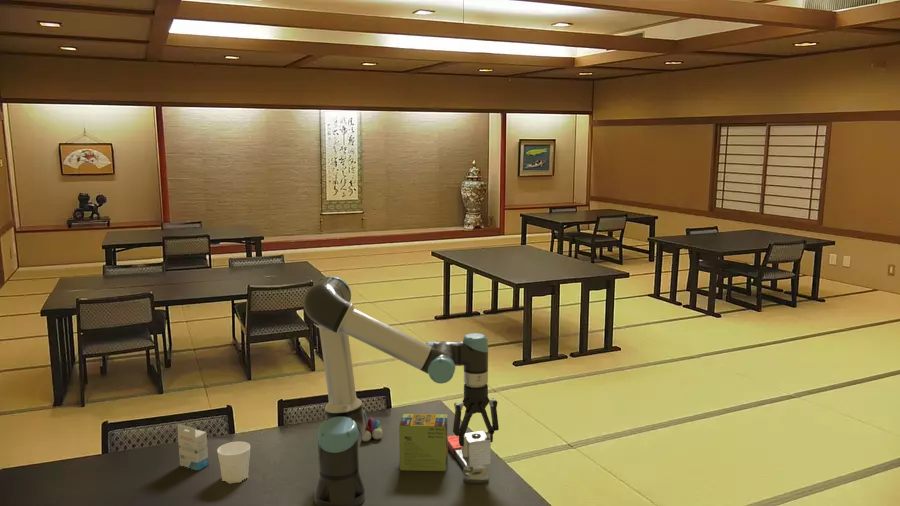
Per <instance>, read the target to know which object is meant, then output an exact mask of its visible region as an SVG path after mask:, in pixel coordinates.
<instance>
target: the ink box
mask: <svg viewBox="0 0 900 506" xmlns="http://www.w3.org/2000/svg"><path fill="white" fill-rule="evenodd" d="M177 439H178V440H177V442H178V453H179V466H180V465H181V466H180V467H182V466H185V467H188V468H187V469H189V468H191V469H190V470H193V469H194V470H193V471H196V470H197V471H198V470H199V471H201V470H202V469H204V468H206V467H208V466H209V454H208V453H209V452H208V451H209V449H208V434H207V431H203V430H199V429H196V427H191V426H188V425H184V424H180V423H178V424H177ZM185 467H184V468H185ZM197 471H196V472H197Z"/></svg>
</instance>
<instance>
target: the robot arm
mask: <svg viewBox="0 0 900 506" xmlns="http://www.w3.org/2000/svg"><path fill="white" fill-rule="evenodd" d="M351 299H352V291H351V288H350V286H349V284H348V283H347V282H346V281H345V280H344V279H342V278H341V277H338V276H334V275H331V276H330V275H329V276H326V277H322V278H319V279H318V280H317V281H316V282H315V283H314V285H312V286H311V287H310V288H309V289H308V290H307V291H306V293H305V295H304V296H303V304H302V305H303V309H304V312H305V314H306V315H307V317H308V318H309V319H310V320H311V321H312V322H313V325H314V326H315V327H317V328H318V329H319V330H318V331H319V336H320V344H321V351H322V360H323V366H324V367H323V368H324V375H325V382H326V390H327V396H328V397H327V398H328V403H327V404H326V405H325V407H324V410H325V412H324V413H325V419H326V420H324V421H322V422H321V424H320V425H319V426H318V431H317V437H316V438H317V439H316V440H317V445H318V449H317V450H318V474H319V476H318V478H317V479H318V480H317V483H316V486H315V489H314V492H313V497H314V498H313V500H314V505H316V506H360V505H362V504H363V503H364V501H365V500H366V487H365V485H364V483H363V479H362V477H361V475H360V470H359V469H360V467H359V465H360V464H359V449H360V445H361V443H362V438H363V435H364V434H365V431H366V427H367V423H368V420H367V419H368V417H367V414H366V412H365V410H364V407H363V402H362V400H361V399H360V398H358V396H357V392H356V385H355V384H356V383H355V377H354V376H355V375H354V369H353V360H352V353H351V346H350V345H351V344H350V338H349V337H352V338H353V339H355V340H358V341H360V342H362V343H364V344H366V345H368V346H371V347H373V348H374V349H376V350H377V351H381V352H382V353H384V354H387V355H389V356H391V357H392V358H395V359H397V360H399V361H401V362H403V363H406V364H407V365H409V366H411V367H414V368H415V369H418V370H419V371H421V372H424V373H425V374H427V375H428V377H429V379H431V380H432V381H433V382H434V383H435V384H446V383H448V382H450V381H451V380H452V378H454V377H453V376H454V374H455V372H456V367H458V366H459V367H460V366H463V383H464V384H463V400H462V401H461V402H454V405H453V406H454V419H453V425H452V426H453V427H452V429H453V430H452V432H453V434H454V435H456V436H458V437H459V444H460V446H462V454H463V456H464V457H467V437H466V435H465V433H467V429H468V427H469V424H470V421H471V419H472V417H473V415H474V414H477V413H478V414H481V417H482V420H483V422H484V424H485V427H486V429H487V430H485V431H484V432H485V433H486V435H487V436H488V437H489V438H490V439H491V443H493V441H494V440H493V439H494V434H495V431H499V419H498V418H499V417H498V411H497V407H498V401H497V400H496V399H495V398H493V397H492V398H489V384H488V383H489V343H488V340H489V339H488V337H487V336H486V335H485V334H482V333H476V332H475V333H474V332H473V333H468V334H465V335H464V336H463V339H462V340H461V341H459V340H458V341H453V340H452V341H448V340H445V341H444V340H435V341H426V343H425V342H423V341H421V340H419V339H417V338H415V337H413V336H411V335H410V334H407V333H405V332H403V331H401V330H399V329H397V328H395V327H393V326H391V325H389V324H387V323H385V322H382V321H381V320H379V319H377V318H374V317H372V316H370V315H368V314H366V313H364V312H363V311H360V310H358V309H356V308H355V306H354V304H353V303H352V302H351ZM488 405H489V407H490V408H489V409H490V415H491V416H490V417H491V421H490V419H489V416H488V412H487V411H486V407H488ZM463 407H464V408H465V411H464V416H463V418H461V417H462V410H463ZM461 419H462V421H461Z"/></svg>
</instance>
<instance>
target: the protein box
mask: <svg viewBox="0 0 900 506" xmlns="http://www.w3.org/2000/svg"><path fill="white" fill-rule="evenodd" d="M398 430H399V431H398V432H399V434H398V435H399V438H398V439H399V471H414V472H415V471H416V472H417V471H419V472H422V471H423V472H424V471H425V472H446V471H447V465H448V460H449V459H448V458H449V454H448V453H449V452H448V451H449V449H448V436H449V435H448V414H447V413H446V414H444V413H441V414H440V413H439V414H438V413H403V414H402V417H401V421H400V422H399V427H398Z"/></svg>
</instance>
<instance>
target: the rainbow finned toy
mask: <svg viewBox="0 0 900 506" xmlns="http://www.w3.org/2000/svg"><path fill="white" fill-rule="evenodd" d="M367 419H368V420H367V427H366V431H365V434H364V435H363V438H362V440H361V442H364V443H365V442H369V441H370V440H371V439H374V440H380V439H381V438H382V436H383V434H384V433H383V429H382V428H383V427H382V426H380V420H378V419H376V420H374V418H373V417H369V418H367Z"/></svg>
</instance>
